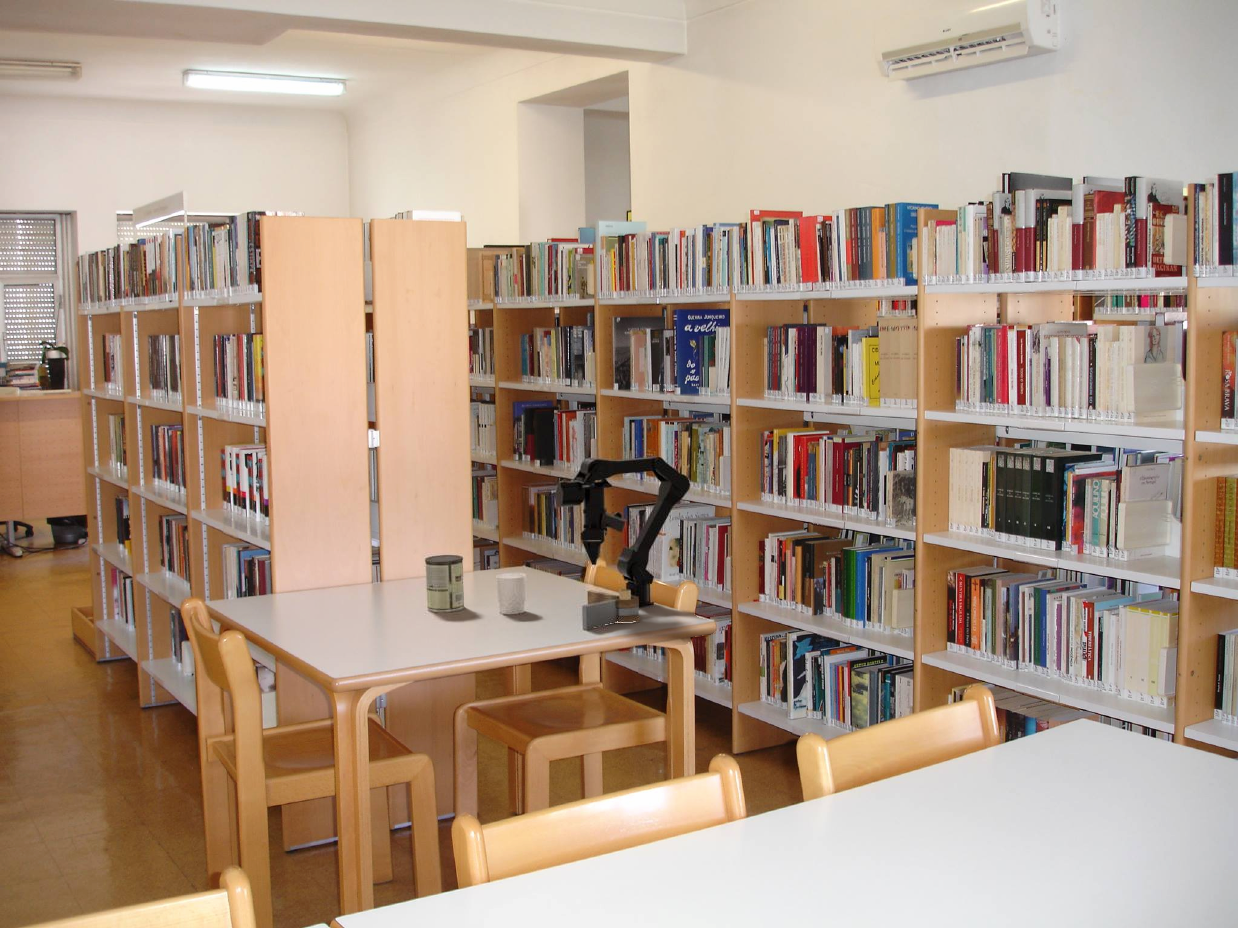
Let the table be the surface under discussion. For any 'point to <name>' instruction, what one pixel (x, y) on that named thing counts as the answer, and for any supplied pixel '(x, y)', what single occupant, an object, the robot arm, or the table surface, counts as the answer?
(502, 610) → the white cup
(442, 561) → the coffee can
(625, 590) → the brass pin
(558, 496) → the robot arm
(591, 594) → the tan hinge leaf
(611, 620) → the slate leaf
